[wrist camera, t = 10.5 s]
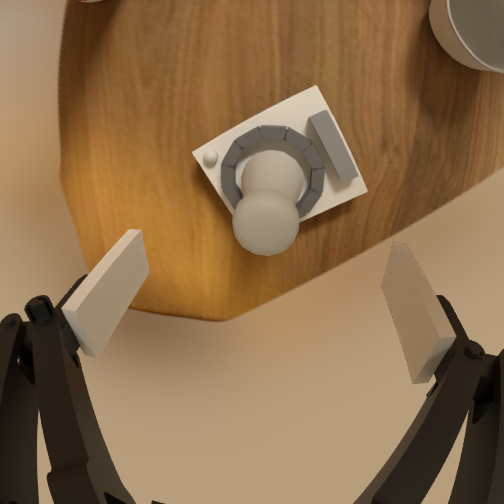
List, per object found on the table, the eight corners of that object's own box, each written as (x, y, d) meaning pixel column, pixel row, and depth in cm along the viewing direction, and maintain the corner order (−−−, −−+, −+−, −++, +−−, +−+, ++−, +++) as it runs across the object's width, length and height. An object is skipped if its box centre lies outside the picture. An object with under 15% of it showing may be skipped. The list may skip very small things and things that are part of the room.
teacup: (491, 80, 23) (531, 85, 16) (421, 62, 24) (456, 58, 17) (479, -15, 16) (513, -26, 9) (406, -39, 17) (433, -62, 10)
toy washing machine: (312, 85, 27) (318, 84, 23) (360, 181, 32) (371, 196, 28) (200, 146, 32) (187, 155, 28) (254, 230, 37) (249, 251, 33)
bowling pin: (306, 150, 28) (321, 194, 17) (298, 204, 31) (304, 276, 20) (246, 142, 28) (220, 180, 17) (241, 196, 31) (215, 264, 20)
